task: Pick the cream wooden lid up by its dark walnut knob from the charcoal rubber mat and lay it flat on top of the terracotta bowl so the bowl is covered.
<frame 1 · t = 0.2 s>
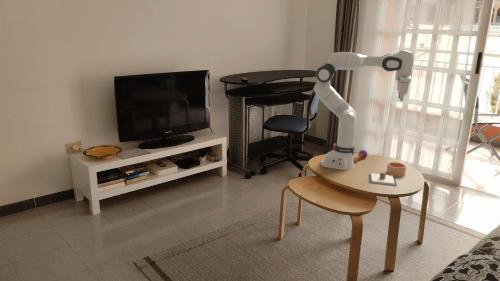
hand: (400, 99, 239), 47 cm above the table, tool pointing down, fingers open, 8 cm apart
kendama: (358, 160, 272), on the table
mat: (382, 180, 236), on the table
bowl: (395, 173, 248), on the table
lid: (382, 179, 236), resting on mat
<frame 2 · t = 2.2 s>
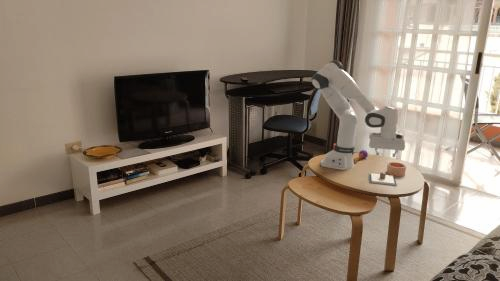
hand: (385, 155, 231), 16 cm above the table, tool pointing down, fingers open, 8 cm apart
nothing on the table moved.
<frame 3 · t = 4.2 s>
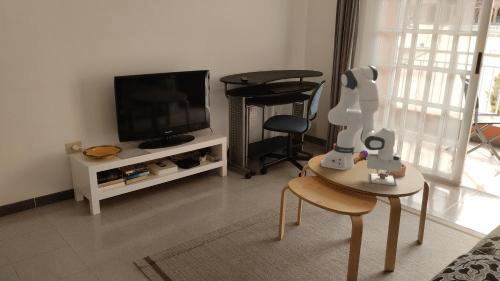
hand: (382, 176, 235), 3 cm above the table, tool pointing down, fingers closed on lid, 3 cm apart
lid: (382, 179, 236), resting on mat, touching gripper
everything else where it was.
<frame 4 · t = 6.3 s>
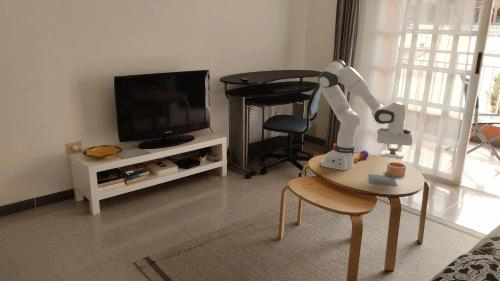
hand: (393, 150, 237), 17 cm above the table, tool pointing down, fingers closed on lid, 3 cm apart
lid: (392, 155, 237), point 14 cm above the table, touching gripper
everything else where it was.
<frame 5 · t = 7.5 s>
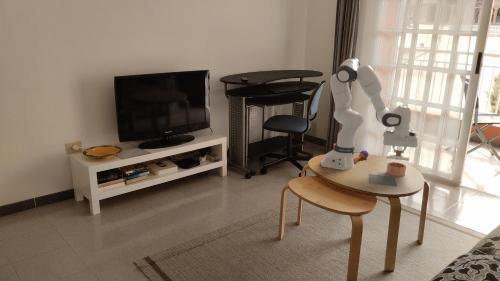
hand: (398, 152, 244), 14 cm above the table, tool pointing down, fingers closed on lid, 3 cm apart
lid: (398, 157, 244), point 12 cm above the table, touching gripper
everything else where it was.
when the fingers open (10 cm above the table, at t = 8.5 s): lid stays where it is, resting on bowl.
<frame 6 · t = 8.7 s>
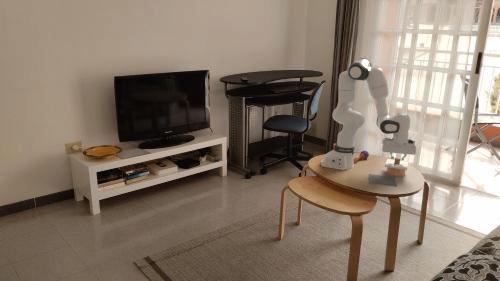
hand: (397, 159, 245), 10 cm above the table, tool pointing down, fingers open, 5 cm apart
lid: (396, 165, 245), point 6 cm above the table, touching bowl
everything else where it was.
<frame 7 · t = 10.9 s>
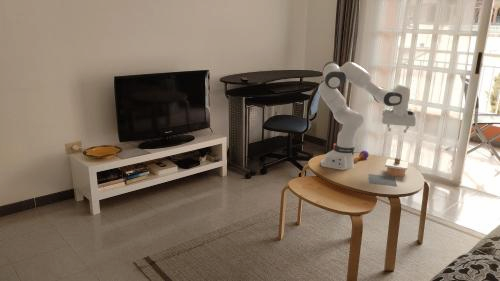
hand: (397, 131, 248), 26 cm above the table, tool pointing down, fingers open, 8 cm apart
nothing on the table moved.
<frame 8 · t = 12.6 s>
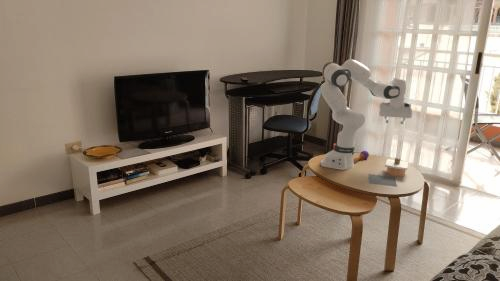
hand: (394, 123, 256), 29 cm above the table, tool pointing down, fingers open, 8 cm apart
at the end: lid 0.5 cm off-centre on the bowl, point 6.0 cm above the bowl's base; lid touching bowl; the gripper is holding nothing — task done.
